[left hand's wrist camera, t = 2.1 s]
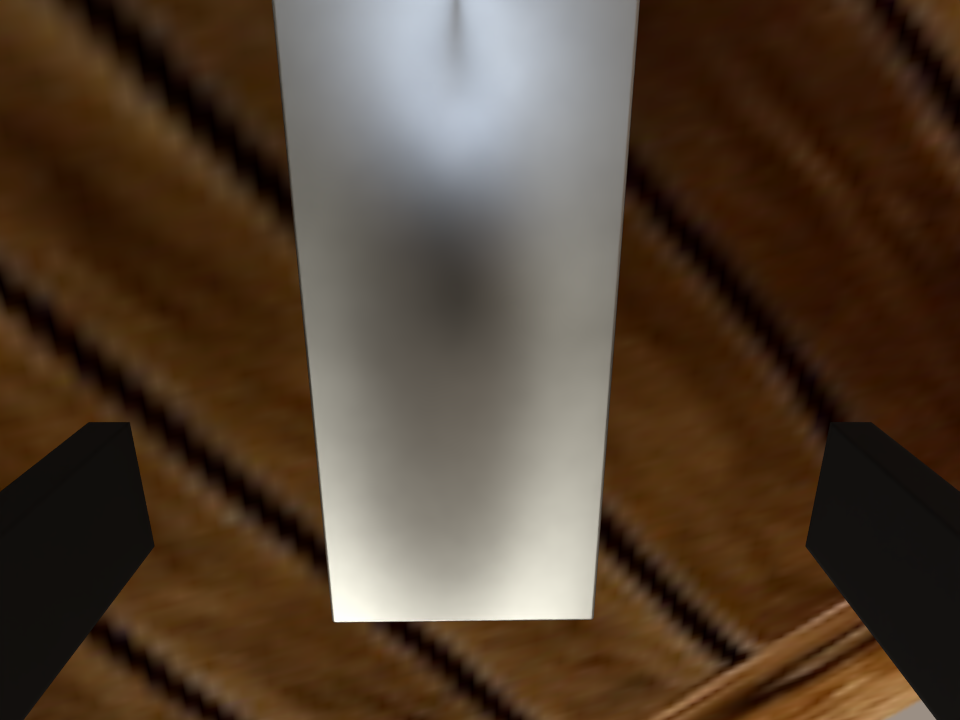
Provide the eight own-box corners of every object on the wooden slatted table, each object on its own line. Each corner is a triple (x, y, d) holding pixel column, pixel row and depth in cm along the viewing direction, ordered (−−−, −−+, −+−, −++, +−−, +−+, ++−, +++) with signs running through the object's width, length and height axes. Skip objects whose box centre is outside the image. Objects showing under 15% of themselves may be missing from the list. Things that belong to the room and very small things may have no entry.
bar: (548, 433, 23) (594, 620, 15) (382, 434, 23) (332, 623, 14) (588, -582, 14) (759, -1567, 6) (324, -586, 14) (113, -1590, 6)
